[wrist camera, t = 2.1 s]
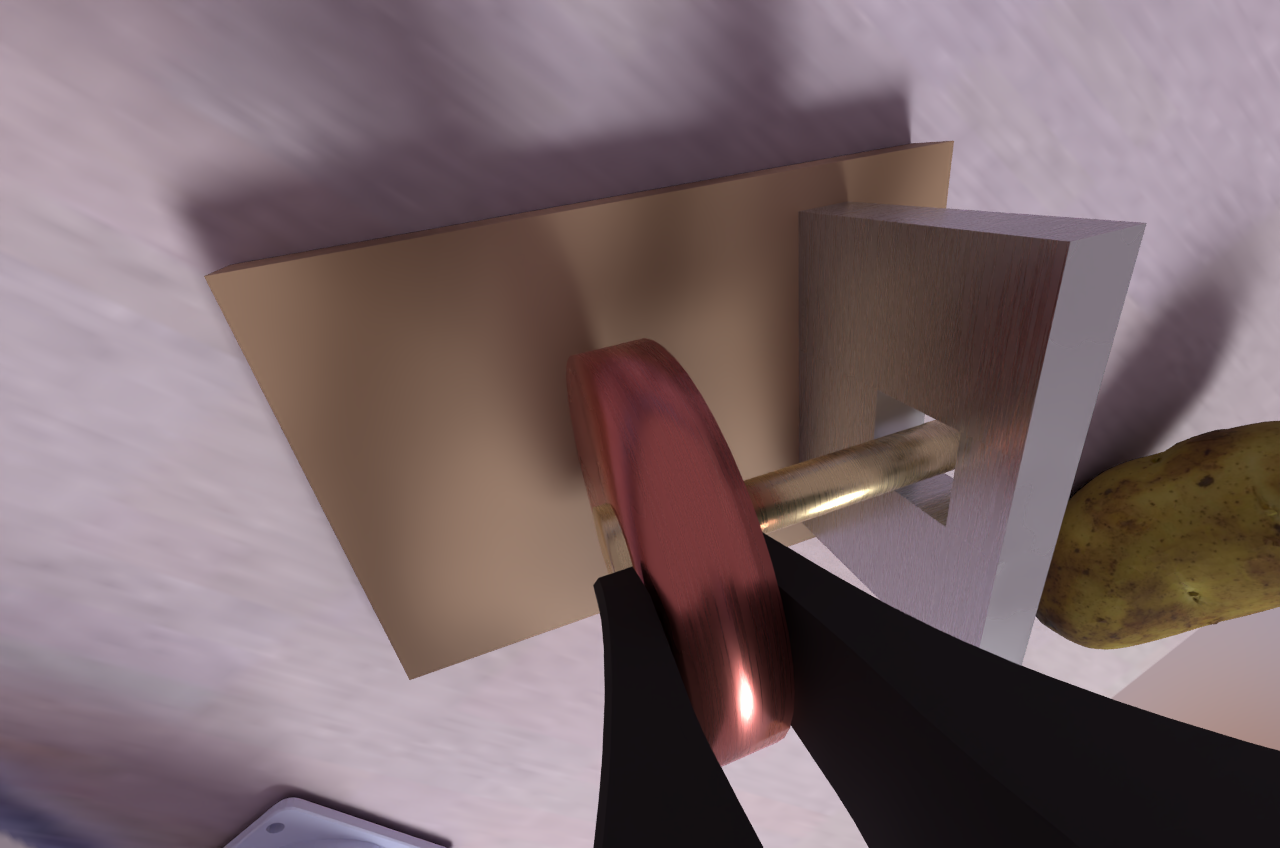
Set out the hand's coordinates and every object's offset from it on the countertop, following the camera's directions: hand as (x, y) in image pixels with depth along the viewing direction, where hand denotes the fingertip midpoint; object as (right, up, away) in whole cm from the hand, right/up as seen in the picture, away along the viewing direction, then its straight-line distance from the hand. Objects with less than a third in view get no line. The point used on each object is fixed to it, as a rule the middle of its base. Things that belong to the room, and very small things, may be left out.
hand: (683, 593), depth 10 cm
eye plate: (+5, +4, +7) cm, 9 cm away
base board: (-1, +4, +7) cm, 8 cm away
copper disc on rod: (+2, +3, +6) cm, 7 cm away
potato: (+22, 0, +17) cm, 28 cm away
